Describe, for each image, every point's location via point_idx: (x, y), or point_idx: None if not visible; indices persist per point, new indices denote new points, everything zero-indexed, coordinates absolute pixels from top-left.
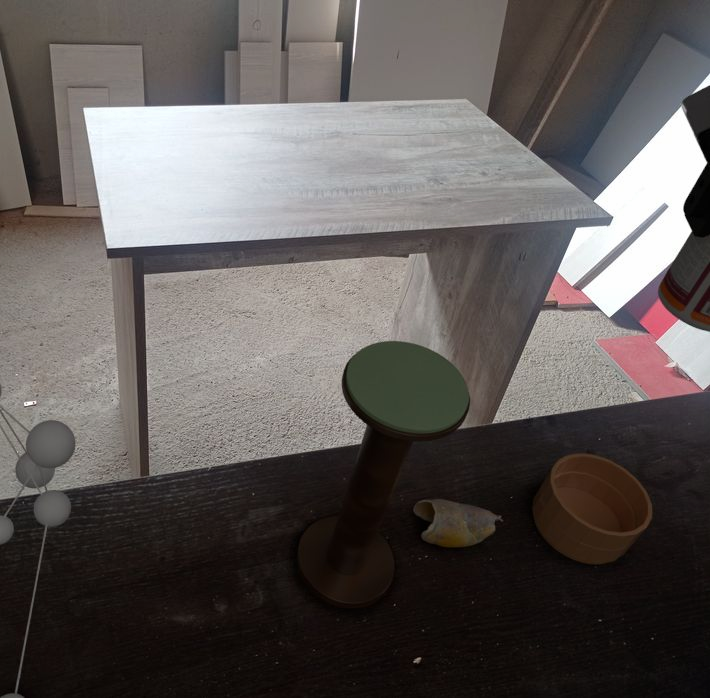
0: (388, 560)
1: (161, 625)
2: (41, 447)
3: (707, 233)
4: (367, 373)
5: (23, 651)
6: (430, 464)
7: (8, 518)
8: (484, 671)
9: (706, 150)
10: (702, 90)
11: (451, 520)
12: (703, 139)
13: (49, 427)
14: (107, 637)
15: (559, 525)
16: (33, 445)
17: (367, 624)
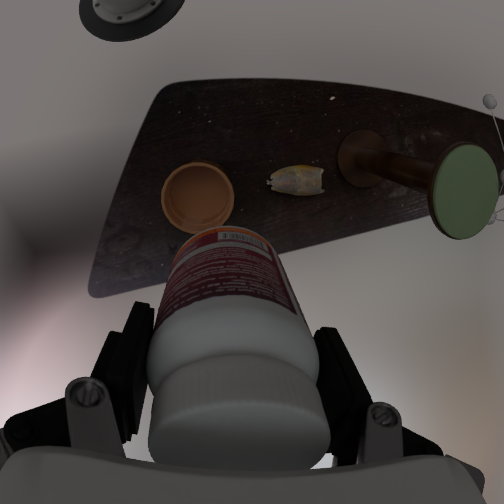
0: (341, 156)
1: (445, 131)
2: None
3: (327, 330)
4: (487, 202)
5: (495, 121)
6: (292, 232)
7: None
8: (294, 89)
9: (423, 440)
10: None
11: (308, 175)
12: (441, 450)
13: None
14: (462, 129)
15: (228, 177)
16: None
17: (355, 119)
